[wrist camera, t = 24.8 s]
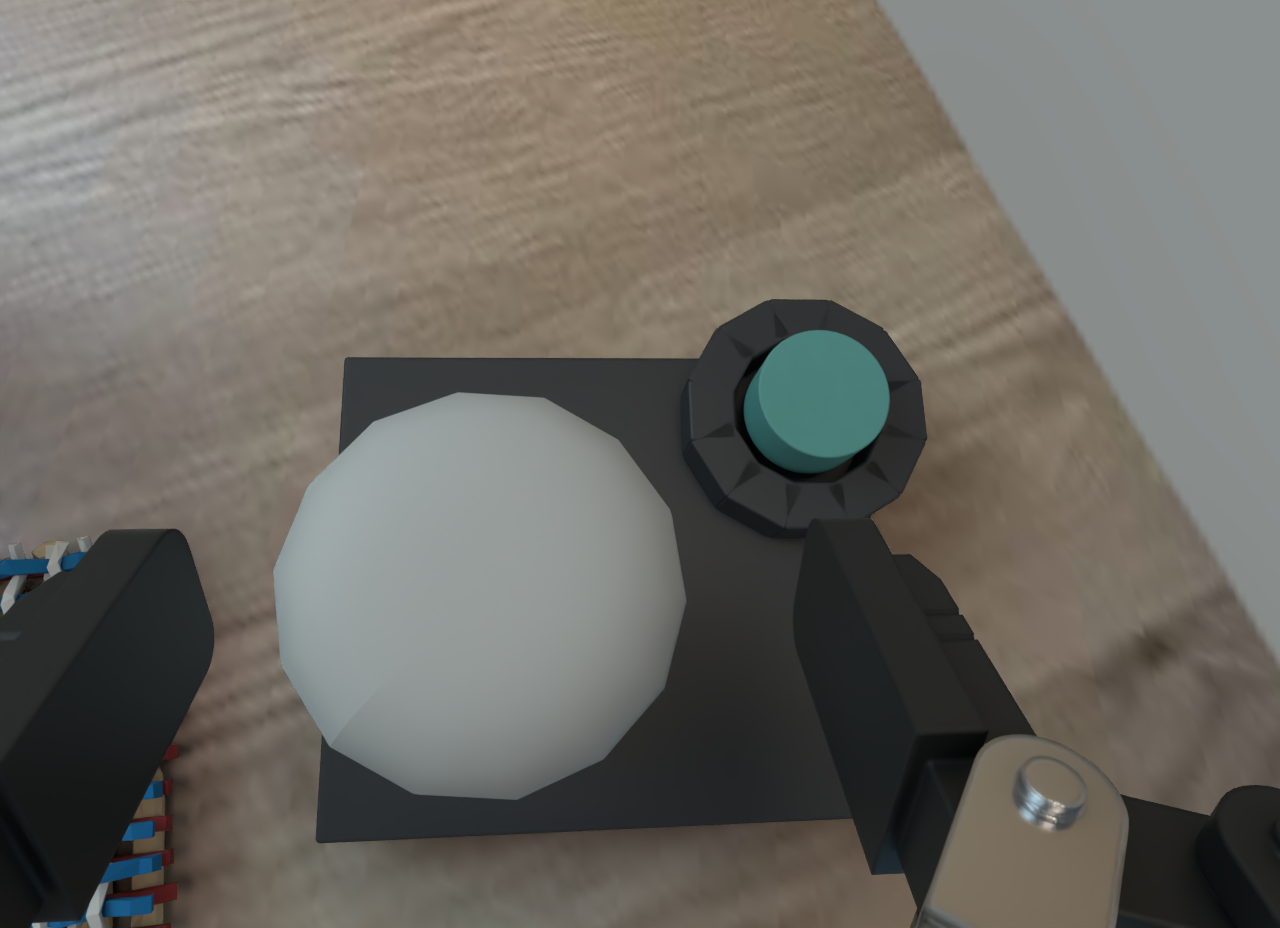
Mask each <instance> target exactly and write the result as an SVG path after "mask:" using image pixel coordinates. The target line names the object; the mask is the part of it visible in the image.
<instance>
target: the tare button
mask: <svg viewBox="0 0 1280 928" xmlns="http://www.w3.org/2000/svg"><path fill="white" fill-rule="evenodd" d="M889 404H890V394H889V387H888V382H887V379H886V376H885V374H884V372H883V369H882V367H881V366H880V364H879V363H878V361H877V360H876V358H875V357H874V356H873V355H872V354H871V353H870V352H869V351H868V350H867V349H866V348H865V347H864V346H863V345H861V344H860V343H859V342H857V341H855V340H854V339H852V338H850V337H848V336H846V335H843V334H840V333H837V332H832V331H826V330H811V331H805V332H801V333H798V334H795V335H793V336H791V337H789V338H787V339H785V340H784V341H782V342H781V343H779V344H778V345H777V346H776V347H775V348H774V349H773V350H772V351H771V353H770V354H769V355H768V357H767V358H766V360H765V361H764V363H763V364H762V366H761V367H760V369H759V370H758V372H757V373H756V375H755V377H754V378H753V380H752V381H751V383H750V385H749V387H748V389H747V392H746V396H745V400H744V420H745V424H746V428H747V431H748V433H749V436H750V438H751V439H752V441H753V443H754V444H755V446H756V447H757V448H758V450H759V451H760V452H761V453H762V454H763V455H764V456H765V457H766V458H767V459H769V460H770V461H771V462H773V463H774V464H776V465H778V466H780V467H782V468H784V469H786V470H789V471H793V472H797V473H805V474H813V473H821V472H826V471H828V470H831V469H834V468H836V467H837V466H839V465H841V464H842V463H844V462H845V461H847V460H848V459H849V458H851V457H852V456H854V455H855V454H856V453H858V452H859V451H861V450H862V449H863V448H865V447H866V446H868V445H869V444H870V443H871V442H872V441H873V440H874V439H875V438H876V437H877V435H878V434H879V433H880V431H881V430H882V428H883V426H884V424H885V421H886V419H887V416H888V412H889Z"/></svg>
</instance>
